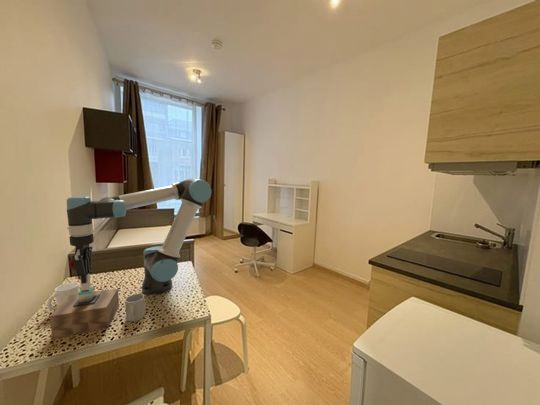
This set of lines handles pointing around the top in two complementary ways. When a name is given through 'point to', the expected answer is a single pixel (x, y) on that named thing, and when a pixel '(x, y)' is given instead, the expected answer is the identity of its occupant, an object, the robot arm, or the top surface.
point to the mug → (63, 294)
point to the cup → (135, 307)
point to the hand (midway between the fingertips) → (86, 289)
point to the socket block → (84, 314)
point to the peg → (86, 295)
